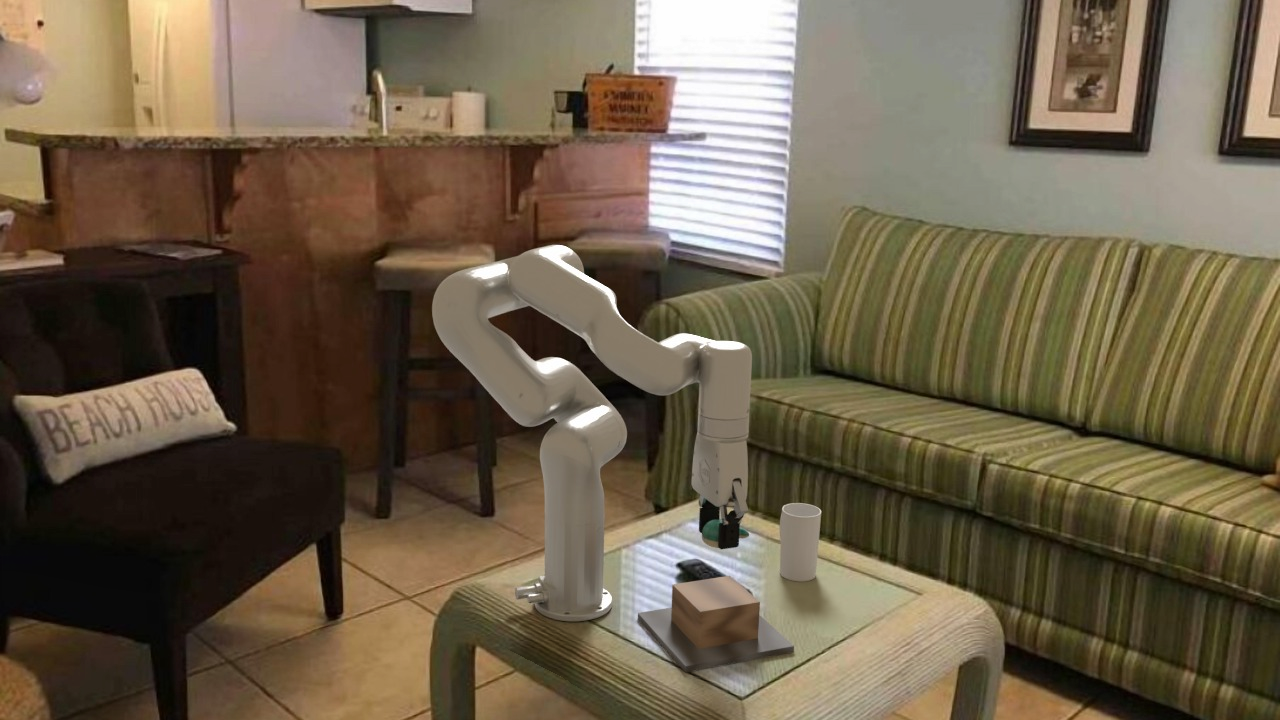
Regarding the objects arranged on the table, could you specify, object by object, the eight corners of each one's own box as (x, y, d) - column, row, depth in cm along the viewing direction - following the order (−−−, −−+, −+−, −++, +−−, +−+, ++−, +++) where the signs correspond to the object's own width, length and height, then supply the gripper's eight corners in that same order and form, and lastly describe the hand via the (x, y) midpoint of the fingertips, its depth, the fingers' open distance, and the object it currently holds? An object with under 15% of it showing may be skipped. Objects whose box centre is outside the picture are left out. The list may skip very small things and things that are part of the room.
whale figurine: (694, 539, 170) (695, 516, 169) (735, 532, 173) (737, 509, 172) (713, 553, 165) (714, 529, 164) (755, 546, 168) (756, 522, 167)
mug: (824, 579, 193) (828, 514, 190) (790, 584, 190) (794, 519, 188) (795, 557, 202) (799, 495, 199) (762, 562, 199) (766, 499, 197)
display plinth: (685, 672, 160) (687, 628, 159) (637, 618, 176) (638, 577, 175) (793, 652, 167) (796, 609, 166) (738, 602, 183) (740, 562, 182)
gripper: (676, 412, 170) (672, 522, 174) (727, 444, 155) (721, 564, 159) (719, 408, 173) (715, 516, 177) (774, 439, 158) (767, 557, 162)
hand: (718, 538), depth 168 cm, fingers closed on whale figurine, 5 cm apart
